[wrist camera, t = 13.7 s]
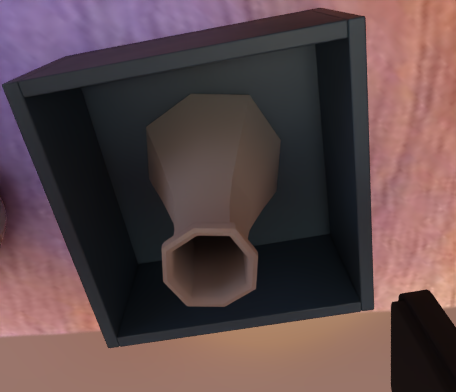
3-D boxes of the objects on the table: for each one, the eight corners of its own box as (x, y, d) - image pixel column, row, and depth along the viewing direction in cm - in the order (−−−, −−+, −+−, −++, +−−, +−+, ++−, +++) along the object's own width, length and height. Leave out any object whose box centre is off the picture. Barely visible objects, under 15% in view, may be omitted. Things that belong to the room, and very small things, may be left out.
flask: (262, 70, 21) (294, 133, 12) (295, 197, 24) (342, 325, 15) (123, 113, 21) (54, 204, 12) (173, 231, 25) (146, 372, 16)
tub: (133, 265, 26) (107, 349, 20) (64, 56, 21) (0, 84, 15) (337, 233, 26) (374, 310, 20) (321, 7, 20) (365, 15, 14)
